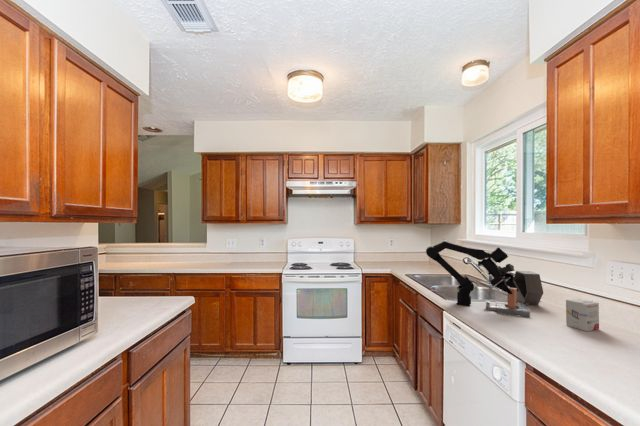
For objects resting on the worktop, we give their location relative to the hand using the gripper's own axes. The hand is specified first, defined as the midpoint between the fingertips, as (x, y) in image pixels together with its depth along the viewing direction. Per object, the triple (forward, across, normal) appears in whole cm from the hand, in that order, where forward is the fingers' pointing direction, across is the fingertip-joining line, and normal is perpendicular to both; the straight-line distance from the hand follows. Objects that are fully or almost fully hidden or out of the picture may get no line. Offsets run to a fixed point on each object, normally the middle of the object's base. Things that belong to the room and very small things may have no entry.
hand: (514, 292), depth 161 cm
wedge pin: (+6, 0, +8) cm, 10 cm away
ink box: (+26, -2, -12) cm, 29 cm away
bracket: (0, -5, +14) cm, 15 cm away
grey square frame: (+6, 0, +8) cm, 10 cm away
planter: (+6, +26, +9) cm, 28 cm away
